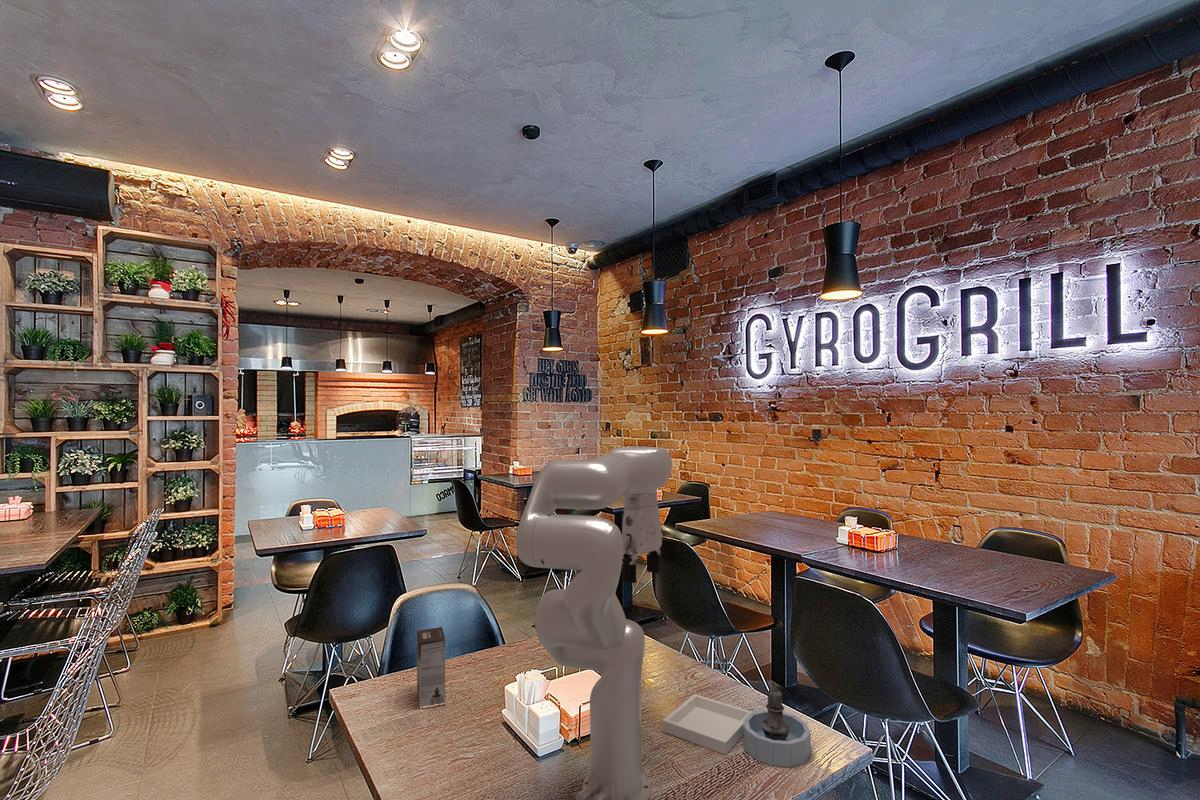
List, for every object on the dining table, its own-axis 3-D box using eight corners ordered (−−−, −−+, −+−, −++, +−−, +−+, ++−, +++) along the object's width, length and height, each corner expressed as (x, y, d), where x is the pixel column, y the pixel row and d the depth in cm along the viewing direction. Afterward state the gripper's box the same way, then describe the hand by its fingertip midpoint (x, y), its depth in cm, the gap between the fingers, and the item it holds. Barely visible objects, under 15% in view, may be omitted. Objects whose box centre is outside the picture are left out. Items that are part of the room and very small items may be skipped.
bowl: (797, 774, 111) (797, 751, 111) (734, 752, 119) (734, 729, 119) (818, 743, 121) (817, 722, 121) (758, 724, 129) (758, 704, 129)
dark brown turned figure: (792, 752, 116) (790, 692, 117) (762, 749, 118) (760, 690, 118) (789, 737, 122) (787, 679, 122) (760, 734, 123) (759, 677, 124)
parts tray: (726, 755, 118) (725, 742, 118) (662, 731, 127) (662, 720, 127) (754, 723, 130) (754, 712, 130) (694, 704, 139) (694, 693, 139)
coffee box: (416, 693, 146) (416, 629, 147) (442, 689, 148) (442, 626, 149) (419, 710, 138) (418, 642, 138) (446, 705, 140) (446, 638, 140)
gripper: (633, 507, 121) (634, 589, 121) (674, 497, 135) (675, 570, 135) (604, 504, 126) (605, 583, 125) (646, 495, 140) (648, 566, 139)
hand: (641, 576), depth 130 cm, fingers open, 9 cm apart
